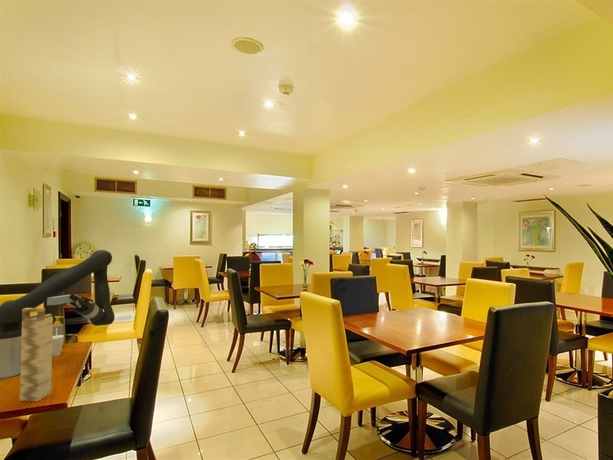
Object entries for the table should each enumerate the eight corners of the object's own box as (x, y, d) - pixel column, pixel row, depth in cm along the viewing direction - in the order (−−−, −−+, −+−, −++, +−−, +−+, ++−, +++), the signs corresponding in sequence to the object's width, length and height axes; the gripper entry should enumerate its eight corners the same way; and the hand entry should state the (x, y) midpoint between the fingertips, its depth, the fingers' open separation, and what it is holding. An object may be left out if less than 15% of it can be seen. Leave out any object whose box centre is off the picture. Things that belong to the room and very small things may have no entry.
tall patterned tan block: (19, 401, 128) (22, 309, 129) (32, 393, 134) (35, 305, 135) (38, 401, 128) (41, 309, 129) (51, 393, 135) (53, 305, 136)
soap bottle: (58, 350, 187) (59, 317, 188) (45, 350, 187) (46, 317, 187) (67, 346, 194) (68, 315, 194) (55, 346, 194) (55, 315, 194)
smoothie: (61, 352, 184) (62, 326, 184) (65, 354, 180) (66, 328, 180) (47, 355, 179) (48, 328, 180) (50, 357, 175) (51, 330, 175)
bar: (46, 305, 139) (47, 297, 139) (70, 301, 154) (70, 294, 154) (54, 305, 139) (54, 297, 140) (76, 301, 154) (77, 294, 154)
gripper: (74, 300, 165) (53, 287, 151) (103, 300, 166) (85, 287, 151) (69, 315, 161) (47, 303, 147) (99, 315, 162) (80, 303, 147)
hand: (66, 295), depth 149 cm, fingers closed on bar, 3 cm apart
